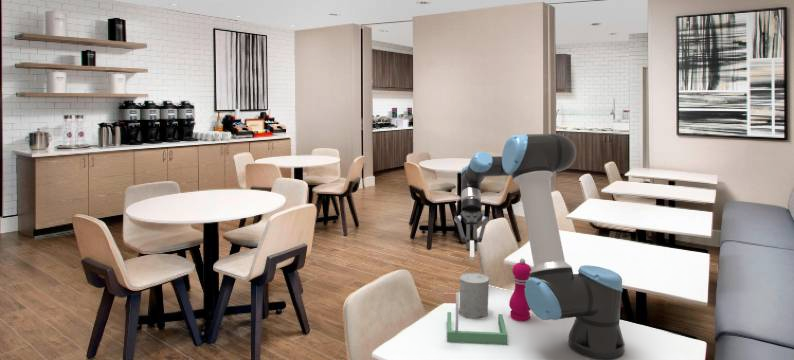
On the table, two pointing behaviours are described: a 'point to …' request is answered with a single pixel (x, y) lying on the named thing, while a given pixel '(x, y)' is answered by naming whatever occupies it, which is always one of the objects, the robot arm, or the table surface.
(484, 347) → the table surface
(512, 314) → the pepper mill
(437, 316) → the table surface
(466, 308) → the concrete cylinder
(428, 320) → the table surface
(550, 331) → the table surface
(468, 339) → the putting stop
